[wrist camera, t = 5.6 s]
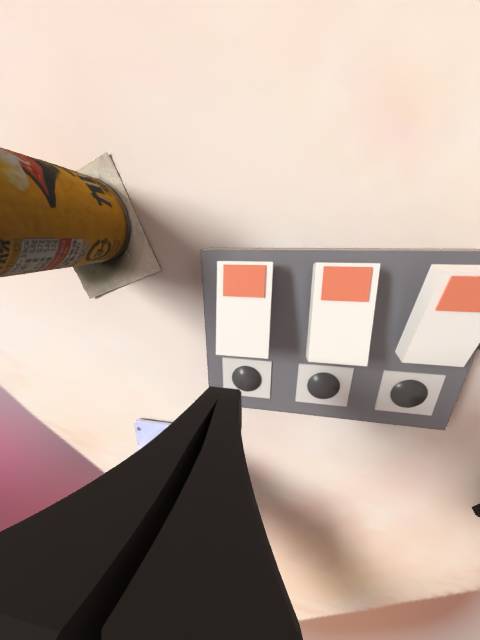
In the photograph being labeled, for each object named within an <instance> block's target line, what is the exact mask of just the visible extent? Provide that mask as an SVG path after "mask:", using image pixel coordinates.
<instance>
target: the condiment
mask: <svg viewBox="0 0 480 640" xmlns="http://www.w3.org/2000/svg"><path fill="white" fill-rule="evenodd" d="M128 248H130V251H129V252H128ZM128 253H129V257H127V254H128ZM67 267H73V268H74V270H75V272H76V273H77V275H78V277H79V279H80V280H81V283H82V285H83V288H84V289H85V291H86V292H87V294H88V296H89V298H90V299H91V298H94V297H96V296H98V295H101V294H104V293H106V292H109V291H111V290H114V289H116V288H119V287H122V286H124V285H127V284H129V283H131V282H134V281H137V280H139V279H142V278H144V277H147V276H149V275H152V274H154V273H157V272H159V271H161V269H160V266H159V264H158V262H157V260H156V258H155V255H154V253H153V251H152V249H151V247H150V245H149V243H148V240H147V238H146V236H145V234H144V232H143V229H142V227H141V225H140V222H139V220H138V217H137V215H136V213H135V210H134V208H133V206H132V204H131V201H130V199H129V197H128V195H127V192H126V191H125V188H124V186H123V184H122V181H121V179H120V177H119V176H118V173H117V170H116V168H115V166H114V164H113V162H112V160H111V158H110V156H109V155H108V153H107V152H106V153H105V154H103V155H101V156H100V157H98V158H97V159H95V160H94V161H92V162H90V163H89V164H88V165H86V166H85V167H83V168H81V169H80V170H78V171H73V170H70V169H67V168H64V167H61V166H58V165H55V164H51V163H48V162H46V161H42V160H39V159H35V158H32V157H29V156H25V155H23V154H20V153H16V152H13V151H10V150H7V149H3V148H0V277H5V276H12V275H19V274H26V273H33V272H39V271H46V270H53V269H60V268H67Z"/></svg>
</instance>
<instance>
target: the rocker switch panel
mask: <svg viewBox="0 0 480 640" xmlns="http://www.w3.org/2000/svg"><path fill="white" fill-rule="evenodd" d="M217 261H254V262H273V279H272V299H271V319H270V339H269V356H268V359H264V358H252V357H239V356H226V355H216V303H217ZM316 262H320V263H380V271H379V279H378V287H377V294H376V302H375V310H374V318H373V326H372V333H371V341H370V349H369V357H368V364H367V366H356V365H343V364H331V363H318V362H308V360H307V358H306V349H307V337H308V324H309V311H310V299H311V286H312V274H313V264H314V263H316ZM431 264H451V265H480V249H380V248H207V249H201V265H202V281H203V298H204V314H205V331H206V347H207V364H208V381H209V387H210V386H212V387H222V388H232V389H239V390H240V391H241V403H242V407H244V408H253V409H261V410H270V411H279V412H288V413H297V414H306V415H314V416H323V417H332V418H341V419H350V420H359V421H367V422H376V423H385V424H394V425H403V426H412V427H420V428H429V429H438V430H445V428H446V426H447V423H448V421H449V418H450V416H451V413H452V411H453V408H454V406H455V403H456V401H457V398H458V396H459V393H460V391H461V388H462V386H463V383H464V381H465V378H466V376H467V373H468V371H469V368H470V366H471V363H472V361H473V358H474V356H475V353H476V350H477V349H480V343H479V344H478V346H477V347H476V349H475V351H474V352H473V354H472V355H471V357H470V358H469V360H468V361H467V363H466V364H465V366H464V367H456V366H442V365H429V364H415V363H402V362H401V360H400V359H399V357H398V356H397V354H396V352H395V350H396V348H397V345H398V343H399V341H400V338H401V336H402V334H403V331H404V329H405V326H406V324H407V322H408V319H409V317H410V314H411V312H412V310H413V307H414V305H415V302H416V300H417V298H418V295H419V293H420V291H421V288H422V286H423V283H424V281H425V279H426V276H427V274H428V271H429V269H430V267H431Z"/></svg>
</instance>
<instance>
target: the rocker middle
mask: <svg viewBox="0 0 480 640" xmlns="http://www.w3.org/2000/svg"><path fill="white" fill-rule="evenodd" d="M379 271H380V263H320V262H316V263H314V264H313V274H312V286H311V299H310V311H309V324H308V337H307V349H306V358H307V360H308V362H318V363H331V364H343V365H356V366H367V364H368V357H369V349H370V341H371V333H372V326H373V318H374V310H375V302H376V294H377V287H378V279H379Z"/></svg>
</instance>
